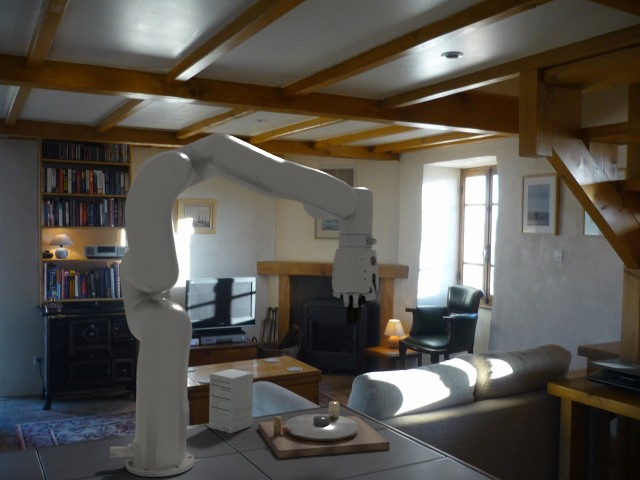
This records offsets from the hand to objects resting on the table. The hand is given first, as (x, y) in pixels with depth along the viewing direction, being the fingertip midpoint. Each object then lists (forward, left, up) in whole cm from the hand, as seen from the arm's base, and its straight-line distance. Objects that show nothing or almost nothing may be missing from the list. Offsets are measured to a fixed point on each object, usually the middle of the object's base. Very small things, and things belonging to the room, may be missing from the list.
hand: (353, 324), depth 143 cm
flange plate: (-7, 0, -23) cm, 24 cm away
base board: (-7, 0, -25) cm, 26 cm away
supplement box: (-25, +13, -25) cm, 38 cm away
